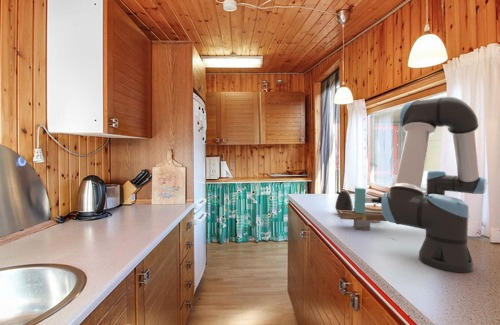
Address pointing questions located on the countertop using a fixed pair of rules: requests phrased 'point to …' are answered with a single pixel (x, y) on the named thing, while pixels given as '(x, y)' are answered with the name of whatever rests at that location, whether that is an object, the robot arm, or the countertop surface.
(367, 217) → the beam
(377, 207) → the lidded jar
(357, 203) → the block
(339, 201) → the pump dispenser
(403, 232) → the countertop surface
